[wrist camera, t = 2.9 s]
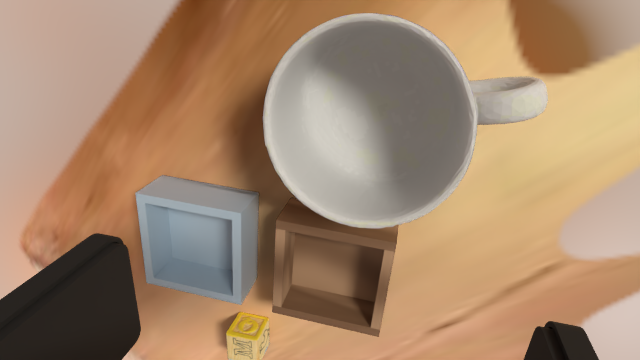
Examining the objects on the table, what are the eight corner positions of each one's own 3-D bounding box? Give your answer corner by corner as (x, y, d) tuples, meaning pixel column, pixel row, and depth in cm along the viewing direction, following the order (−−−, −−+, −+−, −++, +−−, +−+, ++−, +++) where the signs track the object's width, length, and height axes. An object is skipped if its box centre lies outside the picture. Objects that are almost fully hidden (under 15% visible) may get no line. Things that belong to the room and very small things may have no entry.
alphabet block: (240, 335, 39) (226, 360, 36) (238, 310, 38) (224, 334, 35) (270, 342, 38) (259, 368, 36) (269, 316, 37) (257, 341, 34)
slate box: (257, 278, 36) (241, 304, 32) (169, 258, 37) (146, 282, 34) (258, 192, 32) (241, 213, 29) (162, 175, 33) (135, 193, 30)
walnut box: (382, 305, 34) (378, 336, 31) (285, 284, 35) (272, 312, 32) (399, 217, 30) (396, 243, 27) (290, 198, 32) (275, 220, 28)
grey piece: (304, 169, 30) (268, 221, 23) (295, 12, 26) (248, 17, 19) (504, 180, 27) (533, 243, 20) (532, 4, 23) (582, 6, 16)
